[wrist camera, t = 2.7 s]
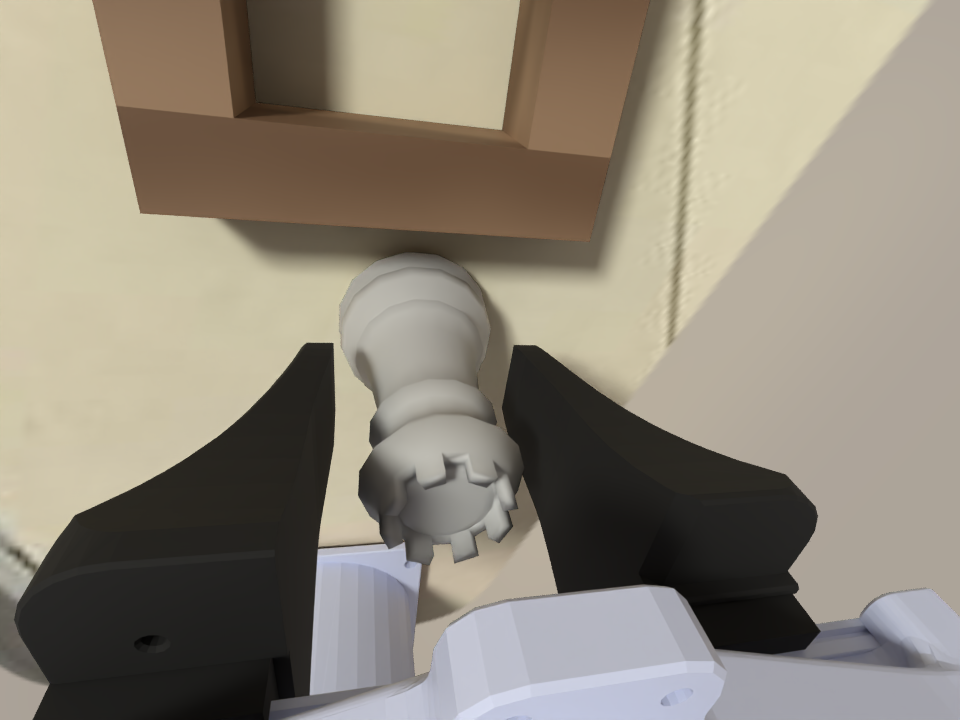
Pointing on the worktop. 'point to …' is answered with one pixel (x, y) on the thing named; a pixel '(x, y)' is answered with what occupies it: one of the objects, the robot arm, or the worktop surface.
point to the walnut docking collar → (369, 128)
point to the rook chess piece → (428, 407)
